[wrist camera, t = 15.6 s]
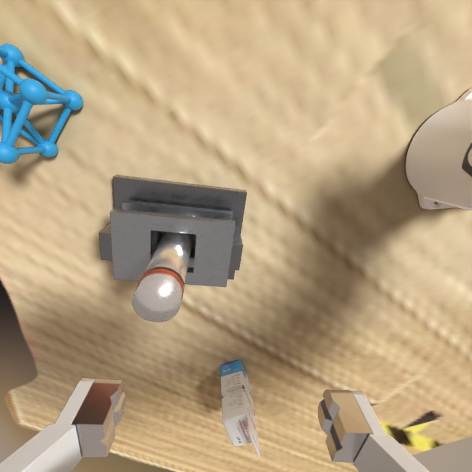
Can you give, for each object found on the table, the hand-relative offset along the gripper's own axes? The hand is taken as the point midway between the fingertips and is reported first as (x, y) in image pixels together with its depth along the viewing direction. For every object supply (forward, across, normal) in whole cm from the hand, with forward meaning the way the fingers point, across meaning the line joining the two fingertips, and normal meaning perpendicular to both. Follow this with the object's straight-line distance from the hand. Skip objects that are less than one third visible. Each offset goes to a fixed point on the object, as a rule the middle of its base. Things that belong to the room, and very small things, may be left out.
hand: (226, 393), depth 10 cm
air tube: (+31, +7, +7) cm, 32 cm away
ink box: (+33, -7, +41) cm, 53 cm away
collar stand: (+33, +7, +7) cm, 34 cm away
